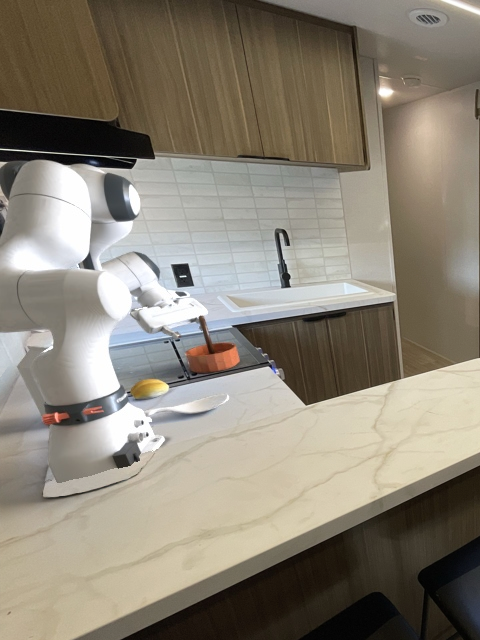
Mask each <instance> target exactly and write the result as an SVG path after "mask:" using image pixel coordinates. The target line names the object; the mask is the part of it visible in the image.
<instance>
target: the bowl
mask: <svg viewBox="0 0 480 640" xmlns="http://www.w3.org/2000/svg"><path fill="white" fill-rule="evenodd" d="M212 344H213V348H214V351H215V354H211V355H209V351H208V348H207V345H206V344H202V345H197V346H195V347H192V348H189V349H187V350H186V351H185V352H184V357H185V360H186V362H187V365H188V369H189V370H190V371H191V372H194V373H197V374H208V373H209V374H210V373H217V372H222V371H224V370H225V371H226V370H228V369H231V368H233V367H235V366H236V365H238V363H240V362H241V358H240V355H239V352H238V348H237V344H235V343H233V342H212Z"/></svg>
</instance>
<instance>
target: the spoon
mask: <svg viewBox="0 0 480 640" xmlns="http://www.w3.org/2000/svg"><path fill="white" fill-rule="evenodd" d="M229 399H230V396H229V395H228V393H218V394H217V393H216V394H213V395H209V396H205V397H202V398H199V399H196V400H191V401H189V402H185V403H181V404H178V405H174V406H167V407H157V408H149V409H146V410H142V411H143V413H144V415H145V417H146V416H147V417H148V416H152V415H154V414H157V413H177V414H191V415H192V414H199V413H200V414H201V413H205V412H208V411H212V410H214V409H216V408H219V407H220V406H222V405H224V404H225V403H227V402H228V400H229Z"/></svg>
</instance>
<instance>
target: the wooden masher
mask: <svg viewBox="0 0 480 640" xmlns="http://www.w3.org/2000/svg"><path fill="white" fill-rule="evenodd" d="M198 318H199V322H200V325H201V328H202V331H201V332H202V334H203V338H204V342H205V345H207V348H208V351H209V355H211V354H215V351H214V348H213V342H212V338H211V335H210V331H209V328H208V323H207V321H206V318H204V316H202V315H200V316H199V317H198ZM200 325H199V326H200Z"/></svg>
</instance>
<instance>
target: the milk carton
mask: <svg viewBox="0 0 480 640" xmlns="http://www.w3.org/2000/svg"><path fill="white" fill-rule="evenodd" d="M26 347H27V349H28V351H27V352H26V353H25V355H24V356H23V358H22V359H21V360H20V361H19V363H18V364H17V366H16V368H17V370H18V372H19V375H20V376H21V378H22V380H23V383H24V384H25V386H26V388H27V390H28V393H29V394H30V395H31V398H32V400H33V402H34V404H35V406H36V408H37V410H38V412H39V414H40V416H41V417H42V416H43V415H44V414H45V407H44V403H45V400H44V398H43V396H42V394H41V392H40V390H39V388H38V386H37V384H36V382H35V380H34V378H33V376H32V374H31V371H30V367H31V364H32V362H33V360H34V359H35V358H36V357H37V356H38V355H39V354H41V353H42V352H44V351H45V350H47V349H49V348H50V347H51V346H50V347H49V346H36V345H27V346H26Z"/></svg>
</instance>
